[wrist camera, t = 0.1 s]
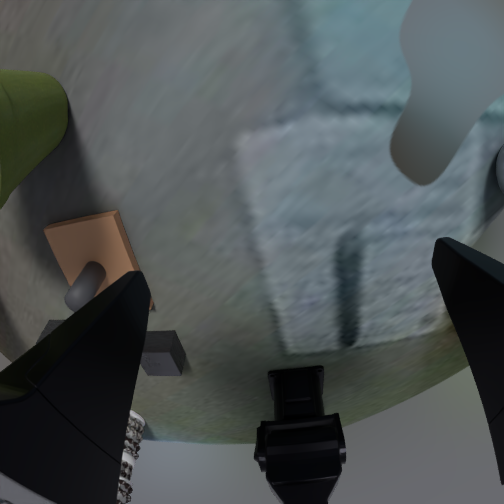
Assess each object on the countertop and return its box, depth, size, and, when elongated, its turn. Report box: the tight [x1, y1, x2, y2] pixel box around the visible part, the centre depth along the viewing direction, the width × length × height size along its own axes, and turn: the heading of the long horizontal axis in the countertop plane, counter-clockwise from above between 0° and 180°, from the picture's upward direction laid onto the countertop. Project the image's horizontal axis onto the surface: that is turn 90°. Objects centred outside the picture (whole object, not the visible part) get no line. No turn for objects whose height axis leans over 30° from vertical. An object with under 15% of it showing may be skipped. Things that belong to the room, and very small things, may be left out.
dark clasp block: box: [140, 330, 186, 376], centre depth 32 cm, size 4×10×3 cm, turn 98°
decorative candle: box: [116, 410, 145, 504], centre depth 34 cm, size 9×9×25 cm
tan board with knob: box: [43, 210, 153, 312], centre depth 25 cm, size 10×8×6 cm
